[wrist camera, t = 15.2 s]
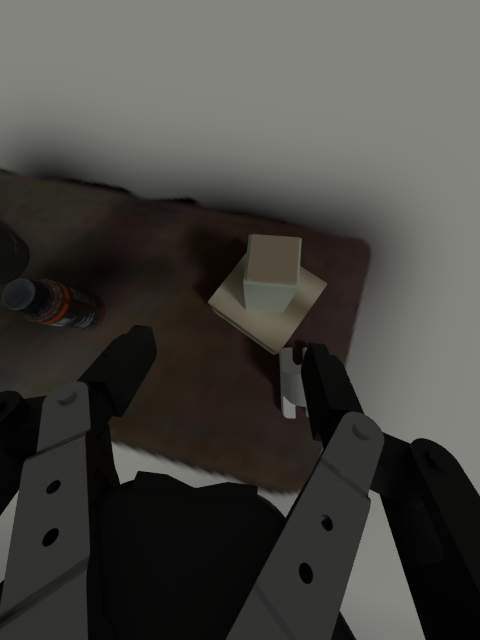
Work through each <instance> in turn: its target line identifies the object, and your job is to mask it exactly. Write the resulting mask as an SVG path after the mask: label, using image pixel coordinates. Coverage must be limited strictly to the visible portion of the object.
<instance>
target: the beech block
mask: <svg viewBox="0 0 480 640" xmlns="http://www.w3.org/2000/svg"><path fill="white" fill-rule="evenodd" d="M246 256H247V253H246V254H245V255H244V256H243V258H242V259H241V260H240V261H239V263H238V264H237V265H236V267H235V268H234V269H233V270H232V272H231V273H230V274H229V275H228V277H227V278H226V279H225V281H224V282H223V283H222V284H221V286H220V287H219V288H218V289H217V291H216V292H215V293H214V295H213V296H212V297H211V298H210V300H209V301H208V304H209V305H210V307H211V308H212V309H213V311H214V312H215V313H217V314H218V315H219V316H221V317H222V318H224V319H225V320H226V321H228V322H229V323H230V324H232V325H233V326H235V327H236V328H237V329H239V330H240V331H241V332H243V333H244V334H245V335H247V336H248V337H250V338H251V339H252V340H254V341H255V342H256V343H258V344H259V345H261V346H262V347H263V348H265V349H266V350H267V351H269V352H270V353H271V354H273V355H275V354H279V352H280V351H281V349H282V348H283V347H284V345H285V344H286V342H287V341H288V339H289V338H290V337H291V335H292V334H293V332H294V331H295V329H296V328H297V327H298V325H299V324H300V322H301V321H302V319H303V318H304V317H305V315H306V314H307V312H308V311H309V310H310V308H311V307H312V305H313V304H314V302H315V301H316V300H317V298H318V297H319V295H320V294H321V292H322V291H323V290H324V288H325V287H326V285H327V283H326V282H324V281H323V280H321V279H319V278H318V277H316V276H315V275H313V274H312V273H310V272H309V271H307V270H306V269H304V268H302V267H301V266H300V272H299V287H298V290H297V292H296V293H295V295H294V296H293V298H292V299H291V301H290V303H289V304H288V306H287V307H286V309H285V310H284V312H283V313H272V312H262V311H251V310H246V306H245V296H244V286H243V282H244V273H245V265H246Z"/></svg>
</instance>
